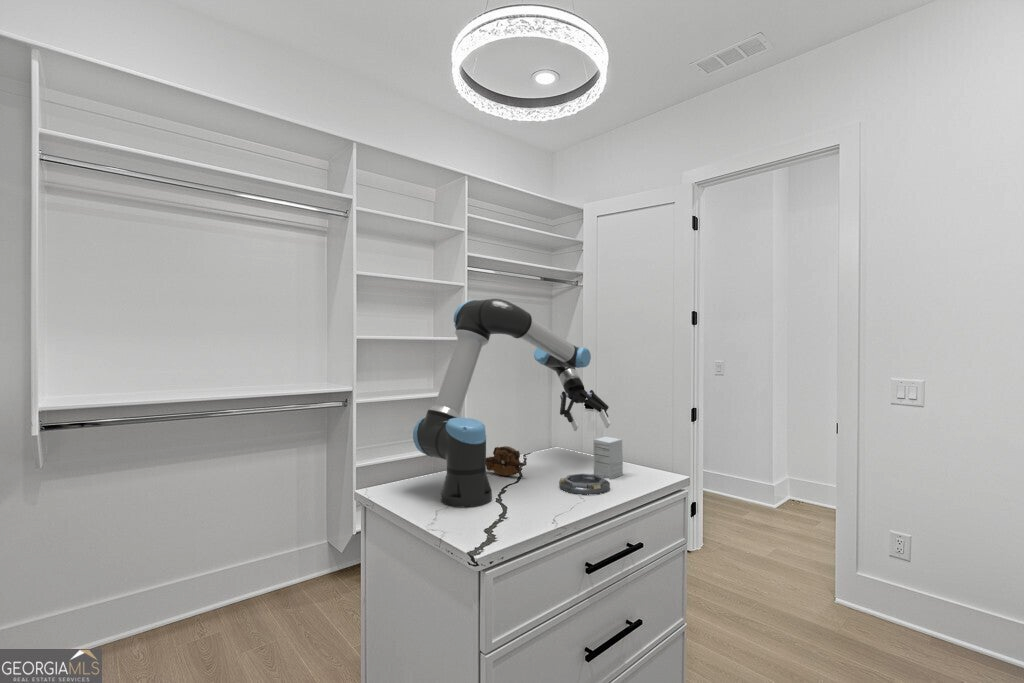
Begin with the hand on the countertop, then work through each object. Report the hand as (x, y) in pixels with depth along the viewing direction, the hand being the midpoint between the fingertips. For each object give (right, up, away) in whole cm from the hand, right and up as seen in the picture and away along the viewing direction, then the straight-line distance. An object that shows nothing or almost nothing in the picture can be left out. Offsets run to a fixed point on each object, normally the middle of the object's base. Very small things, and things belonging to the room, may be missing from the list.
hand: (592, 427), depth 183 cm
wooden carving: (-32, -16, -8) cm, 37 cm away
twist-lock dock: (-7, -15, -24) cm, 29 cm away
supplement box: (+4, -15, -9) cm, 18 cm away
